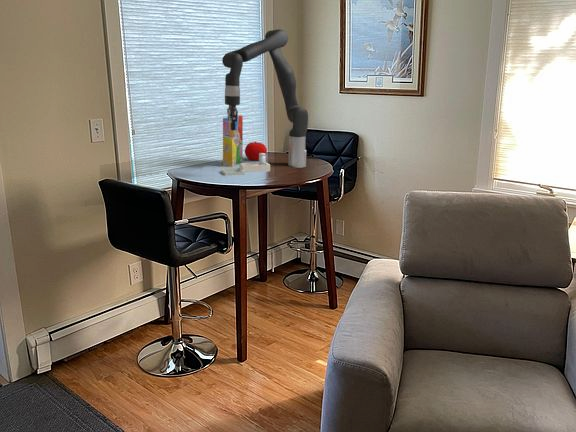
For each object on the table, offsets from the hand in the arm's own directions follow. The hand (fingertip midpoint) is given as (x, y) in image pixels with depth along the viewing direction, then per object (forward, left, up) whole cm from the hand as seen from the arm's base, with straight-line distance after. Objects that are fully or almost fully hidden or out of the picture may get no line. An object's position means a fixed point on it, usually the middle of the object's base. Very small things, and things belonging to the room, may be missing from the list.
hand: (232, 129), depth 274 cm
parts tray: (0, 0, -23) cm, 23 cm away
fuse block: (-13, -4, -23) cm, 27 cm away
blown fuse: (0, 0, -5) cm, 5 cm away
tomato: (-24, -40, -24) cm, 52 cm away
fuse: (-17, -4, -22) cm, 28 cm away
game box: (-7, -27, -24) cm, 36 cm away
